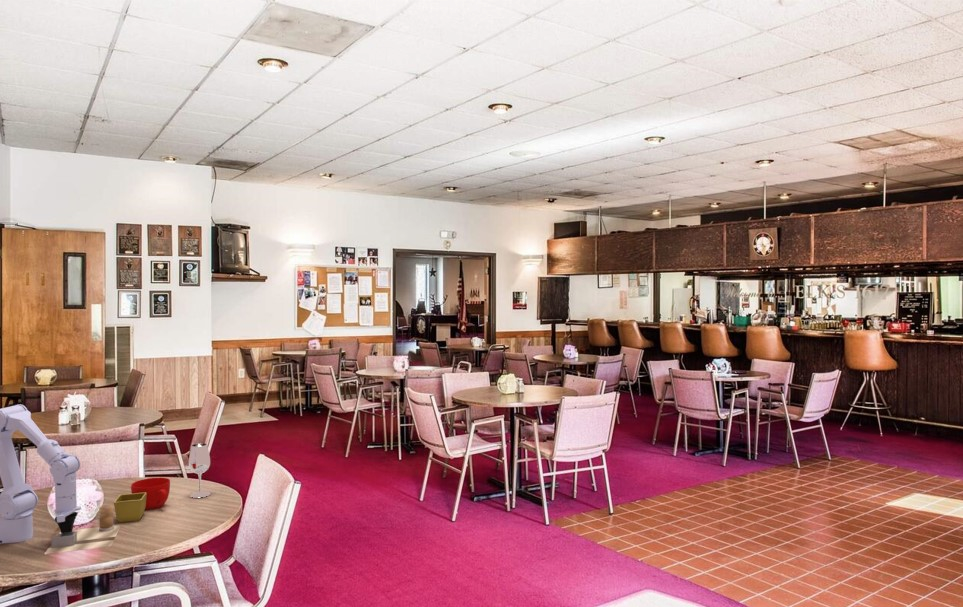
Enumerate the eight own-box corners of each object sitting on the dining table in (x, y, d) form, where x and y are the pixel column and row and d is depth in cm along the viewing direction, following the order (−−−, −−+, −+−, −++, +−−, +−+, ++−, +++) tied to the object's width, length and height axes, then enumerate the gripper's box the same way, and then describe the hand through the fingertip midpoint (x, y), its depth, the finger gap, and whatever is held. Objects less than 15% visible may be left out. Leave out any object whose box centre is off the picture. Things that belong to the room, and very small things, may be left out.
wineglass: (189, 493, 266) (188, 443, 265) (210, 491, 269) (209, 441, 268) (189, 499, 258) (188, 448, 258) (211, 496, 262) (210, 445, 261)
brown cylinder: (97, 532, 221) (97, 509, 220) (100, 527, 225) (99, 505, 225) (112, 530, 222) (112, 508, 222) (115, 526, 226) (114, 504, 226)
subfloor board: (43, 559, 203) (43, 554, 203) (60, 536, 222) (60, 531, 222) (110, 550, 209) (110, 546, 209) (121, 528, 228) (121, 524, 228)
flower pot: (113, 528, 229) (113, 502, 228) (120, 519, 237) (119, 494, 237) (142, 525, 231) (141, 499, 231) (147, 517, 239) (147, 492, 239)
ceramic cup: (147, 520, 236) (147, 492, 236) (124, 510, 246) (124, 483, 246) (183, 510, 246) (182, 483, 246) (159, 501, 257) (159, 475, 256)
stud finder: (51, 548, 208) (51, 537, 208) (55, 543, 211) (54, 533, 211) (74, 545, 210) (73, 535, 210) (76, 540, 213) (76, 530, 213)
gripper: (74, 500, 208) (76, 543, 208) (85, 487, 221) (86, 527, 222) (48, 503, 205) (49, 546, 206) (60, 489, 219) (61, 530, 219)
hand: (66, 537), depth 213 cm, fingers closed
